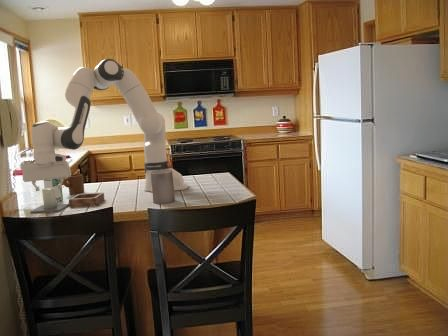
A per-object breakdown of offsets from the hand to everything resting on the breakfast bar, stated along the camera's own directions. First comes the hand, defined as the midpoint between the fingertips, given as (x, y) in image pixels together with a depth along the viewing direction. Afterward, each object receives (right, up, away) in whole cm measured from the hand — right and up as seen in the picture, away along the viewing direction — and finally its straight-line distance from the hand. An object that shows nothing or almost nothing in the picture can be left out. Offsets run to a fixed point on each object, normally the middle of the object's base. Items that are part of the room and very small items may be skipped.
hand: (49, 189), depth 220 cm
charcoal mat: (0, -9, +1) cm, 9 cm away
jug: (0, -8, +1) cm, 8 cm away
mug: (0, -4, +36) cm, 36 cm away
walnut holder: (+14, -7, +9) cm, 18 cm away
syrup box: (-5, -7, +21) cm, 22 cm away
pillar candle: (+51, -6, +2) cm, 51 cm away
